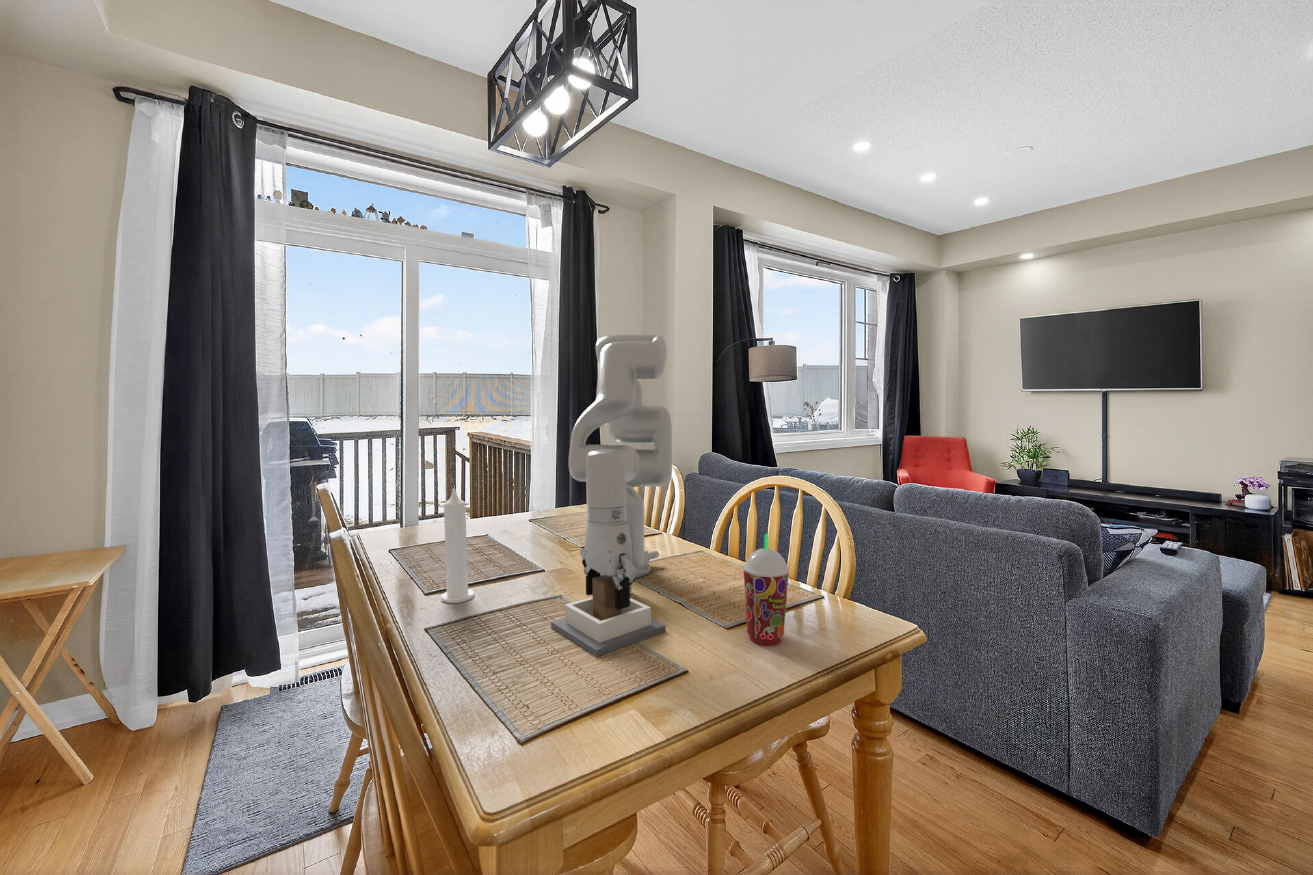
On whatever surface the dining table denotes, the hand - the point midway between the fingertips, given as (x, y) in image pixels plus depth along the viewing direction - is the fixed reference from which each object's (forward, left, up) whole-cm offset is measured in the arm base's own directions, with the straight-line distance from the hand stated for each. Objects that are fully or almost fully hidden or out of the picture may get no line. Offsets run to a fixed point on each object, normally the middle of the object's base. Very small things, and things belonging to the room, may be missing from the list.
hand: (607, 600), depth 110 cm
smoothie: (-20, +23, -6) cm, 31 cm away
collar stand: (0, 0, -6) cm, 6 cm away
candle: (+16, -36, -6) cm, 40 cm away
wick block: (0, 0, -5) cm, 5 cm away
